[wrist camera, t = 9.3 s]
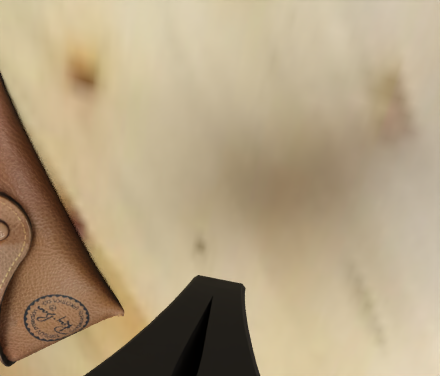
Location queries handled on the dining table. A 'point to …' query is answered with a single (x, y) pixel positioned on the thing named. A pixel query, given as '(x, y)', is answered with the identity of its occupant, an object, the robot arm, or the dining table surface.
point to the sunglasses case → (40, 254)
